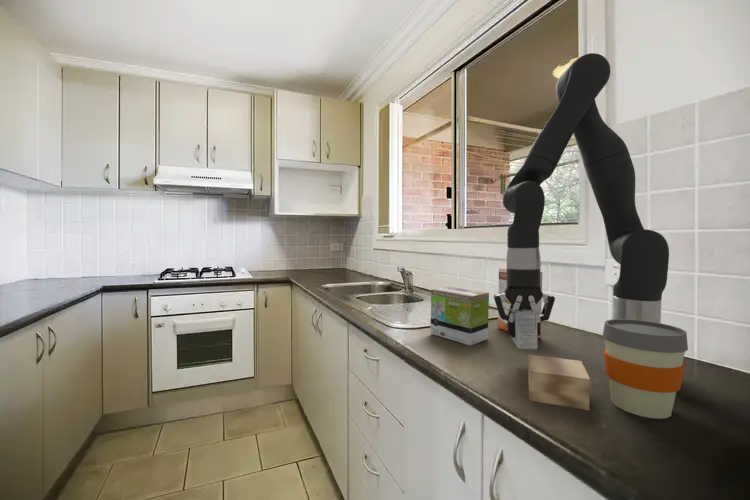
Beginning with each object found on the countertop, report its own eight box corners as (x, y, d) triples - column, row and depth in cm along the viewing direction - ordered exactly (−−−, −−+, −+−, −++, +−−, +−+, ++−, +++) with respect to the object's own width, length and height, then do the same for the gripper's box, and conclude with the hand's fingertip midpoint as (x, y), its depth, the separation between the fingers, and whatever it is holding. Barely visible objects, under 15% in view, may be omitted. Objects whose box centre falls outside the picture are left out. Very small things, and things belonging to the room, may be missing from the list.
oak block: (580, 389, 73) (581, 361, 73) (589, 411, 64) (590, 379, 64) (528, 381, 77) (528, 354, 77) (529, 401, 68) (530, 370, 68)
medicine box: (538, 350, 81) (537, 312, 81) (517, 349, 82) (517, 312, 82) (529, 340, 89) (529, 306, 89) (510, 339, 90) (510, 305, 89)
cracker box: (496, 328, 120) (497, 267, 119) (511, 327, 122) (512, 266, 121) (525, 340, 107) (527, 271, 106) (541, 338, 109) (543, 271, 108)
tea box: (429, 335, 112) (429, 288, 111) (448, 329, 119) (449, 285, 118) (470, 346, 101) (471, 295, 100) (489, 339, 107) (490, 291, 107)
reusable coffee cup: (592, 405, 66) (595, 326, 65) (609, 385, 75) (611, 315, 74) (680, 432, 57) (685, 341, 56) (687, 406, 66) (691, 327, 65)
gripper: (550, 265, 87) (550, 333, 88) (490, 265, 90) (490, 332, 90) (560, 267, 80) (560, 342, 80) (494, 268, 82) (495, 340, 83)
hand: (523, 336), depth 85 cm, fingers closed on medicine box, 4 cm apart
